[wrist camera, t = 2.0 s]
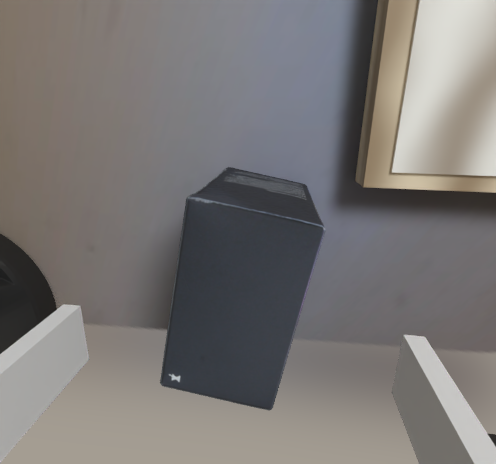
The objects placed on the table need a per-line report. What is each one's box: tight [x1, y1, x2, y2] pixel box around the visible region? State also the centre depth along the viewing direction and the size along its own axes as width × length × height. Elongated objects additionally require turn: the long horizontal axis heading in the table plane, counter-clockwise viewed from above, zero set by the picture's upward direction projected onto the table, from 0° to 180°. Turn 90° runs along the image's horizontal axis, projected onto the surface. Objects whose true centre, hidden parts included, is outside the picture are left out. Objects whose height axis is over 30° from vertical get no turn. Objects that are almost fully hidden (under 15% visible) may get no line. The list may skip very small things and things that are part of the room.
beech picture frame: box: [355, 0, 496, 193], centre depth 18 cm, size 12×14×3 cm
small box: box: [160, 167, 325, 410], centre depth 20 cm, size 11×6×10 cm, turn 169°
